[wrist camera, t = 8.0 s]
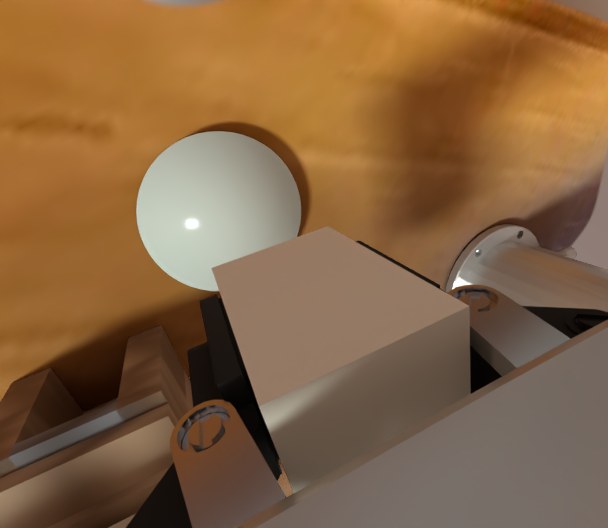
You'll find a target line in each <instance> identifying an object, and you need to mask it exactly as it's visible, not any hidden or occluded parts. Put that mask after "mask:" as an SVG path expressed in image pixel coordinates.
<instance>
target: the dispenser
mask: <svg viewBox="0 0 608 528" xmlns="http://www.w3.org/2000/svg"><path fill="white" fill-rule="evenodd" d="M192 408H193V400H192V391H191V382H190V380H189V378H188V376H187V374H186V372H185V370H184V368H183V366H182V364H181V362H180V360H179V359H178V357H177V355H176V353H175V351H174V349H173V347H172V345H171V343H170V341H169V339H168V337H167V335H166V333H165V331H164V329H163V327H162V325H159V326H157V327H154V328H152V329H149V330H146V331H144V332H141V333H139V334H136V335H134V336H131V337H129V338H128V342H127V348H126V354H125V360H124V365H123V371H122V377H121V383H120V389H119V395H118V398H115V399H113V400H111V401H108V402H106V403H104V404H101V405H99V406H97V407H94V408H92V409H90V410H87V411H85V412H83V411H82V409H81V408H80V407H79V405H78V404H77V403H76V401H75V400H74V399H73V397H72V396H71V395H70V393H69V392H68V390H67V389H66V388H65V386H64V385H63V384H62V382H61V381H60V380H59V378H58V377H57V376H56V374H55V373H54V372H53V370H52V369H51V368H49V369H46V370H44V371H41V372H39V373H36V374H33V375H31V376H28V377H26V378H23V379H21V380H18V381H15V382H13V383H12V384H11V385H10V387H9V389H8V390H7V392H6V394H5V395H4V397H3V399H2V400H1V402H0V528H126V527H127V525H128V524H129V523H130V521H131V520H132V518H133V517H134V516H135V514H136V513H137V512H138V510H139V509H140V507H141V506H142V505H143V503H144V502H145V501H146V499H147V498H148V497H149V495H150V494H151V492H152V491H153V490H154V488H155V487H156V486H157V484H158V483H159V481H160V480H161V479H162V477H163V476H164V475H165V473H166V472H167V470H168V469H169V468H170V466H171V465H172V464H173V462H174V460H173V457H172V453H171V450H170V437H171V434H172V431H173V429H174V427H175V426H176V424H177V422H178V421H179V420H180V419H181V418H182V417H183V416H184V415H185V413H187V412H188V411H189V410H191V409H192Z"/></svg>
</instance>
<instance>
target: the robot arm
mask: <svg viewBox="0 0 608 528" xmlns="http://www.w3.org/2000/svg"><path fill="white" fill-rule="evenodd" d="M356 242H357V243H359V244H361V245H362V246H364V247H366V248H368V249H369V250H371V251H373V252H375V253H376V254H378V255H380V256H382V257H384V258H385V259H387V260H389V261H391V262H392V263H394V264H396V265H398V266H400V267H401V268H403V269H405V270H407V271H408V272H410V273H412V274H414V275H415V276H417V277H419V278H421V279H423V280H424V281H426V282H428V283H430V284H431V285H433V286H435V287H437V288H438V289H440V285H439V284H437V283H435V282H433V281H431V280H430V279H428V278H426V277H424V276H422V275H421V274H419V273H417V272H415V271H413V270H411V269H410V268H408V267H406V266H404V265H402V264H401V263H399V262H397V261H395V260H393V259H392V258H390V257H388V256H386V255H384V254H383V253H381V252H379V251H377V250H375V249H374V248H372V247H370V246H368V245H366V244H365V243H363V242H361V241H356ZM576 255H577V254H576V251H575V249H574V248H572V247H565V248H563V249H561V250H559V251H557V252H555V251H552V250H549V249H545V248H542V247H539V243H538V241H537V239H536V237H535V236H534V234H533V233H532V232H531V231H529V230H528V229H526V228H524V227H521V226H517V225H512V224H503V225H498V226H495V227H493V228H490V229H488V230H486V231H485V232H483V233H482V234H480V235H479V236H478V237H476V238H475V239H474V240H473V241H472V242H471V243H470V244H469V245H468V246H467V247H466V248H465V250H464V251H463V252H462V253H461V255H460V256H459V258H458V259H457V261H456V263H455V265H454V267H453V269H452V271H451V273H450V276H449V279H448V282H447V286H446V293H447V294H449V295H451V296H453V297H454V298H456V299H458V300H460V301H462V302H463V303H465V304H467V305H469V309H470V386H471V394H470V395H468V396H466V397H465V398H463V399H461V400H459V401H457V402H456V403H454V404H452V405H450V406H448V407H447V408H445V409H443V410H441V411H439V412H438V413H436V414H434V415H432V416H431V417H429V418H427V419H425V420H423V421H422V422H420V423H418V424H416V425H414V426H413V427H411V428H409V429H407V430H406V431H404V432H402V433H400V434H398V435H397V436H395V437H393V438H391V439H389V440H388V441H386V442H384V443H382V444H381V445H379V446H377V447H375V448H373V449H372V450H370V451H368V452H366V453H365V454H363V455H361V456H359V457H358V458H356V459H354V460H352V461H350V462H349V463H347V464H345V465H343V466H342V467H340V468H338V469H336V470H335V471H333V472H331V473H329V474H328V475H326V476H324V477H322V478H320V479H319V480H317V481H315V482H313V483H312V484H310V485H308V486H306V487H305V488H303V489H301V490H299V491H297V492H296V493H294V494H292V495H290V496H289V497H286V495H285V494H284V492H283V490H282V489H281V487H280V485H279V483H278V482H277V481H278V479H279V476H280V474H282V471H281V468H280V465H279V462H278V460H279V459H280V458H279V455H278V453H277V450H276V448H275V445H274V443H273V440H272V438H271V435H270V433H269V431H268V428H267V426H266V423H265V421H264V418H263V416H262V413H261V411H260V408H259V406H258V403H257V400H256V397H255V394H254V391H253V388H252V385H251V382H250V379H249V376H248V373H247V370H246V368H245V365H244V362H243V359H242V356H241V353H240V350H239V347H238V344H237V341H236V338H235V335H234V333H233V330H232V327H231V324H230V321H229V318H228V315H227V312H226V309H225V306H224V303H223V300H222V298H219V299H218V297H217V295H214V296H211V297H209V298H206V299H203V300H201V301H200V307H201V311H202V316H203V321H204V326H205V331H206V336H207V341H208V342H206V343H204V344H201V345H199V346H197V347H194V348H192V349H189V350H188V362H189V371H190V381H191V391H192V400H193V408H192V409H191V410H189V411H188V412H187V413H185V415H184V416H183V417H182V418H181V419H180V420H179V421H178V422H177V424H176V426H175V427H174V429H173V431H172V434H171V437H170V450H171V453H172V457H173V460H174V462H173V464H172V465H171V466H170V468H169V469H168V470H167V472H166V473H165V475H164V476H163V477H162V479H161V480H160V481H159V483H158V484H157V486H156V487H155V488H154V490H153V491H152V492H151V494H150V495H149V497H148V498H147V499H146V501H145V502H144V503H143V505H142V506H141V507H140V509H139V510H138V512H137V513H136V514H135V516H134V517H133V518H132V520H131V521H130V523H129V524H128V525H127V527H126V528H608V270H607V269H604V268H600V267H597V266H594V265H591V264H587V263H584V262H581V261H577V260H574V259H573V258H575V257H576ZM440 290H441V289H440ZM442 291H443V290H442ZM444 292H445V291H444Z"/></svg>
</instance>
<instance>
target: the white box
mask: <svg viewBox="0 0 608 528" xmlns="http://www.w3.org/2000/svg"><path fill="white" fill-rule="evenodd" d="M212 271H213V274H214V277H215V280H216V283H217V286H218V289H219V292H220V295H221V298H222V300H223V303H224V306H225V309H226V312H227V315H228V318H229V321H230V324H231V327H232V330H233V333H234V335H235V338H236V341H237V344H238V347H239V350H240V353H241V356H242V359H243V362H244V365H245V368H246V370H247V373H248V376H249V379H250V382H251V385H252V388H253V391H254V394H255V397H256V400H257V403H258V406H259V408H260V411H261V413H262V416H263V418H264V421H265V423H266V426H267V428H268V431H269V433H270V435H271V438H272V440H273V443H274V445H275V448H276V450H277V453H278V455H279V458H280V460H281V463H282V465H283V468H284V470H285V473H286V475H287V478H288V480H289V483H290V485H291V488H292V490H293V493H296V492H297V491H299V490H301V489H303V488H305V487H306V486H308V485H310V484H312V483H313V482H315V481H317V480H319V479H320V478H322V477H324V476H326V475H328V474H329V473H331V472H333V471H335V470H336V469H338V468H340V467H342V466H343V465H345V464H347V463H349V462H350V461H352V460H354V459H356V458H358V457H359V456H361V455H363V454H365V453H366V452H368V451H370V450H372V449H373V448H375V447H377V446H379V445H381V444H382V443H384V442H386V441H388V440H389V439H391V438H393V437H395V436H397V435H398V434H400V433H402V432H404V431H406V430H407V429H409V428H411V427H413V426H414V425H416V424H418V423H420V422H422V421H423V420H425V419H427V418H429V417H431V416H432V415H434V414H436V413H438V412H439V411H441V410H443V409H445V408H447V407H448V406H450V405H452V404H454V403H456V402H457V401H459V400H461V399H463V398H465V397H466V396H468V395H470V394H471V386H470V309H469V305H467V304H465V303H463V302H462V301H460V300H458V299H456V298H454V297H453V296H451V295H449V294H447V293H446V292H444V291H442V290H440V289H438V288H437V287H435V286H433V285H431V284H430V283H428V282H426V281H424V280H423V279H421V278H419V277H417V276H415V275H414V274H412V273H410V272H408V271H407V270H405V269H403V268H401V267H400V266H398V265H396V264H394V263H392V262H391V261H389V260H387V259H385V258H384V257H382V256H380V255H378V254H376V253H375V252H373V251H371V250H369V249H368V248H366V247H364V246H362V245H361V244H359V243H357V242H355V241H353V240H352V239H350V238H348V237H346V236H345V235H343V234H341V233H339V232H337V231H336V230H334V229H332V228H330V227H329V226H327V227H324V228H321V229H318V230H316V231H313V232H310V233H307V234H305V235H302V236H299V237H296V238H293V239H291V240H288V241H285V242H282V243H280V244H277V245H274V246H271V247H268V248H266V249H263V250H260V251H257V252H255V253H252V254H249V255H246V256H243V257H241V258H238V259H235V260H232V261H230V262H227V263H224V264H221V265H218V266H216V267H213V268H212Z"/></svg>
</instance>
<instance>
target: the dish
mask: <svg viewBox="0 0 608 528" xmlns="http://www.w3.org/2000/svg"><path fill="white" fill-rule="evenodd" d="M136 213H137V224H138V228H139V232H140V236H141V238H142V241H143V243H144V246H145V247H146V249H147V251H148V253H149V254H150V256H151V257H152V258H153V260H154V261H155V262H156V263H157V264H158V265H159V266H160V267H161V268H162V269H163V270H164V271H165V272H166V273H167V274H169V275H170V276H171V277H173V278H175V279H176V280H178V281H180V282H182V283H184V284H186V285H189V286H191V287H194V288H198V289H202V290H208V291H219V289H218V286H217V283H216V280H215V277H214V274H213V271H212V268H213V267H216V266H218V265H221V264H224V263H227V262H230V261H232V260H235V259H238V258H241V257H243V256H246V255H249V254H252V253H255V252H257V251H260V250H263V249H266V248H268V247H271V246H274V245H277V244H280V243H282V242H285V241H288V240H291V239H293V238H296V237H297V235H298V232H299V227H300V222H301V201H300V195H299V191H298V188H297V185H296V182H295V180H294V178H293V176H292V174H291V172H290V171H289V169H288V167H287V166H286V165H285V163H284V162H283V161H282V160H281V158H280V157H279V156H278V155H277V154H276V153H274V152H273V151H272V150H271V149H270V148H268V147H267V146H266V145H264V144H262V143H261V142H259V141H257V140H255V139H253V138H250V137H248V136H245V135H242V134H238V133H233V132H224V131H212V132H203V133H197V134H193V135H191V136H188V137H185V138H183V139H181V140H179V141H177V142H175V143H173V144H172V145H171V146H169V147H168V148H166V149H165V150H164V151H163V152H162V153H161V154H160V155H159V156H158V157H157V158H156V159H155V160H154V162H153V163H152V164H151V165H150V167H149V169H148V171H147V172H146V174H145V176H144V179H143V181H142V184H141V186H140V189H139V194H138V198H137V210H136Z"/></svg>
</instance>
